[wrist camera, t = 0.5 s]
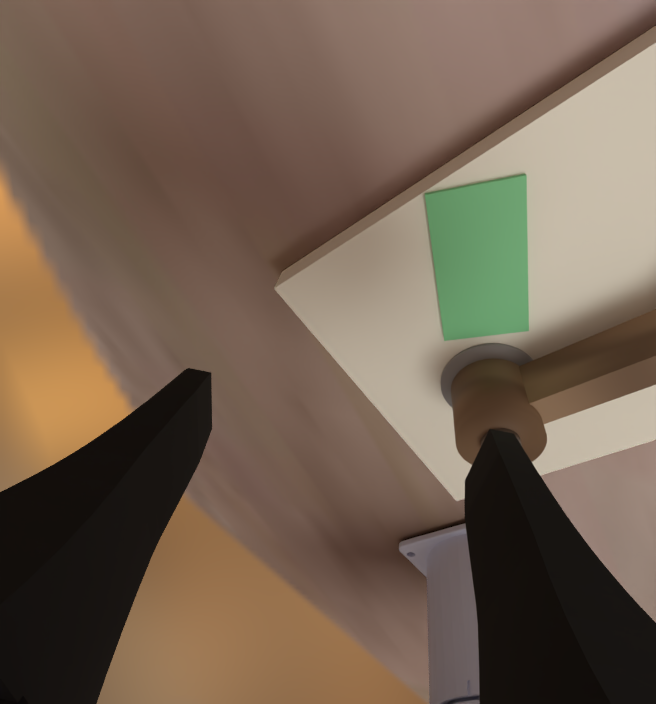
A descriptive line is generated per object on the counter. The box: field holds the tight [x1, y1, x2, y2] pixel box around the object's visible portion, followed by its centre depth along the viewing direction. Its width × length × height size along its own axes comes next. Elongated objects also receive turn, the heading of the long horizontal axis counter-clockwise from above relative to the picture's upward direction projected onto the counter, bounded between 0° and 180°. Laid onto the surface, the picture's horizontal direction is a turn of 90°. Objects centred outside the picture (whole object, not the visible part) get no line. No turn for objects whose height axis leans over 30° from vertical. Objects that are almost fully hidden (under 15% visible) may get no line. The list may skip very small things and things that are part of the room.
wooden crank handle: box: [451, 309, 656, 465], centre depth 17 cm, size 10×3×3 cm, turn 127°
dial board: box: [274, 26, 656, 501], centre depth 19 cm, size 15×20×2 cm
